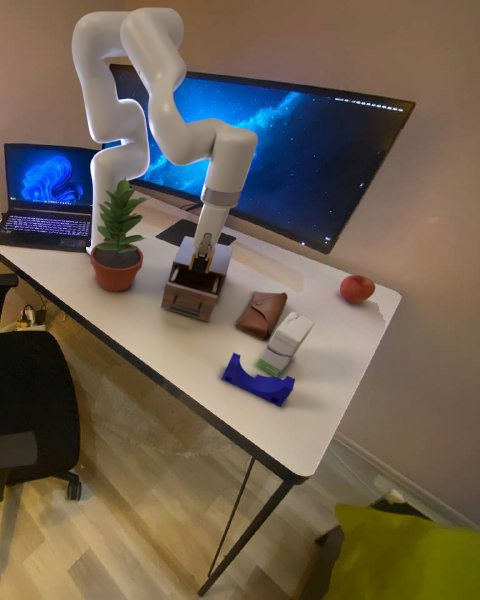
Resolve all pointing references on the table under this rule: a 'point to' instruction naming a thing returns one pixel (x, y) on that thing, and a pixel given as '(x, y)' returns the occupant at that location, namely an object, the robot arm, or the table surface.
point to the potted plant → (118, 241)
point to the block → (208, 258)
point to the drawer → (191, 293)
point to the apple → (356, 288)
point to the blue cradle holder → (258, 382)
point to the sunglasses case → (262, 314)
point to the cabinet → (217, 264)
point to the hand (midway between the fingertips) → (200, 265)
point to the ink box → (285, 343)
